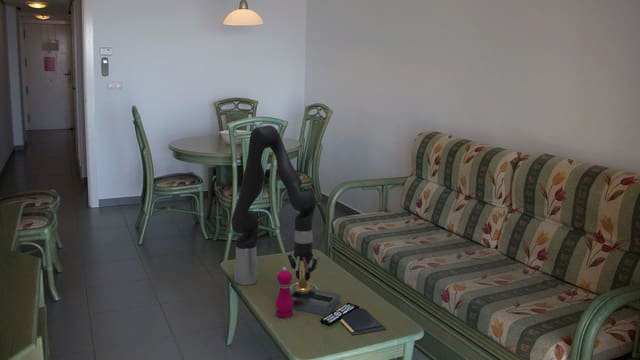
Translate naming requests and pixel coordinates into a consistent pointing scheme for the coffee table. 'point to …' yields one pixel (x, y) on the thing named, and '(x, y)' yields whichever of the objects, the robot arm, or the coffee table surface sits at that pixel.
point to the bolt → (302, 280)
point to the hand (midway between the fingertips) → (303, 279)
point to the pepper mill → (284, 294)
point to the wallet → (361, 322)
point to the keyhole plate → (316, 301)
